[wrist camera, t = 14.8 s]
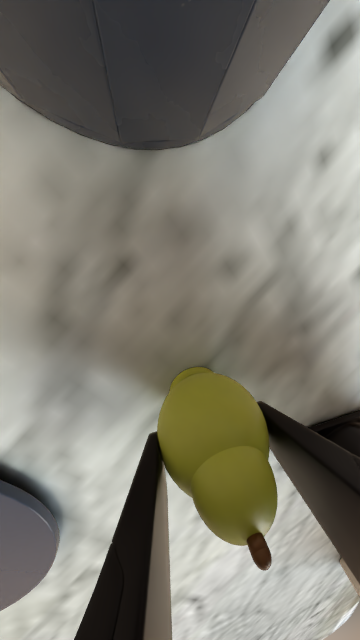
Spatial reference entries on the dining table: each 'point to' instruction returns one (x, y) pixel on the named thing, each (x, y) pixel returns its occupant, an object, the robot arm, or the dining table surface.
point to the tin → (147, 62)
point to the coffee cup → (350, 576)
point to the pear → (220, 457)
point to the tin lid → (24, 543)
